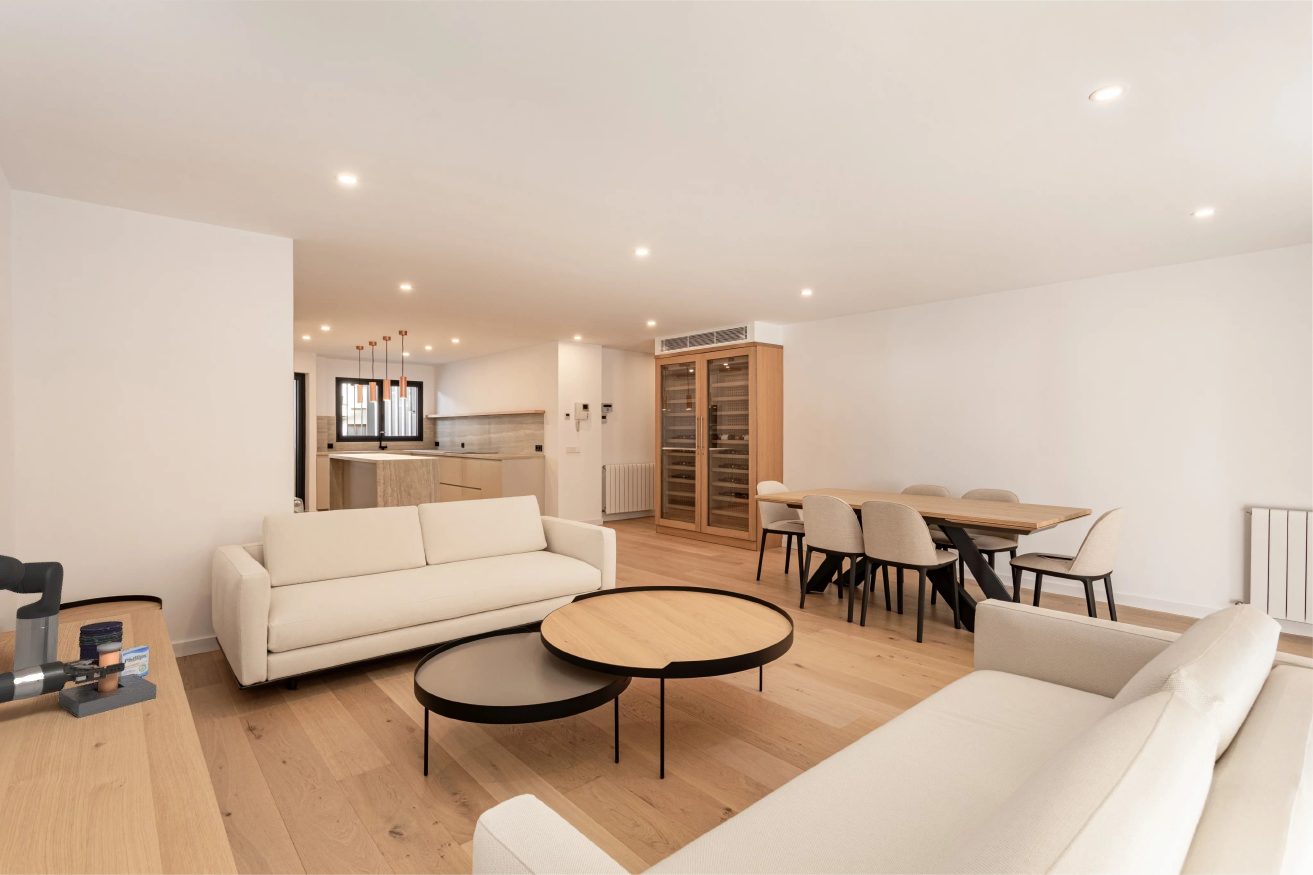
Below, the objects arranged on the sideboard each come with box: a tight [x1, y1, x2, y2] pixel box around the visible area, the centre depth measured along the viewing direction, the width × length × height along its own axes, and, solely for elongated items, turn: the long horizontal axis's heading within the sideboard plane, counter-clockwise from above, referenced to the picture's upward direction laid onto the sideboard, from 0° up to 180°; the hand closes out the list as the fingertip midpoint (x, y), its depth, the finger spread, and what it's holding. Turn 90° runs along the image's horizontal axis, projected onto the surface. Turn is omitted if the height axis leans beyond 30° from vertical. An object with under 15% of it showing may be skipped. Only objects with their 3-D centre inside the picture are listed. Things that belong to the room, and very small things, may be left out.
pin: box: [97, 641, 123, 693], centre depth 168 cm, size 5×5×15 cm
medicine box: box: [118, 645, 150, 678], centre depth 184 cm, size 8×4×9 cm, turn 168°
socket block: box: [57, 673, 157, 719], centre depth 168 cm, size 16×16×4 cm
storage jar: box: [78, 620, 124, 674], centre depth 186 cm, size 10×10×15 cm
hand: (118, 663), depth 170 cm, fingers open, 8 cm apart
